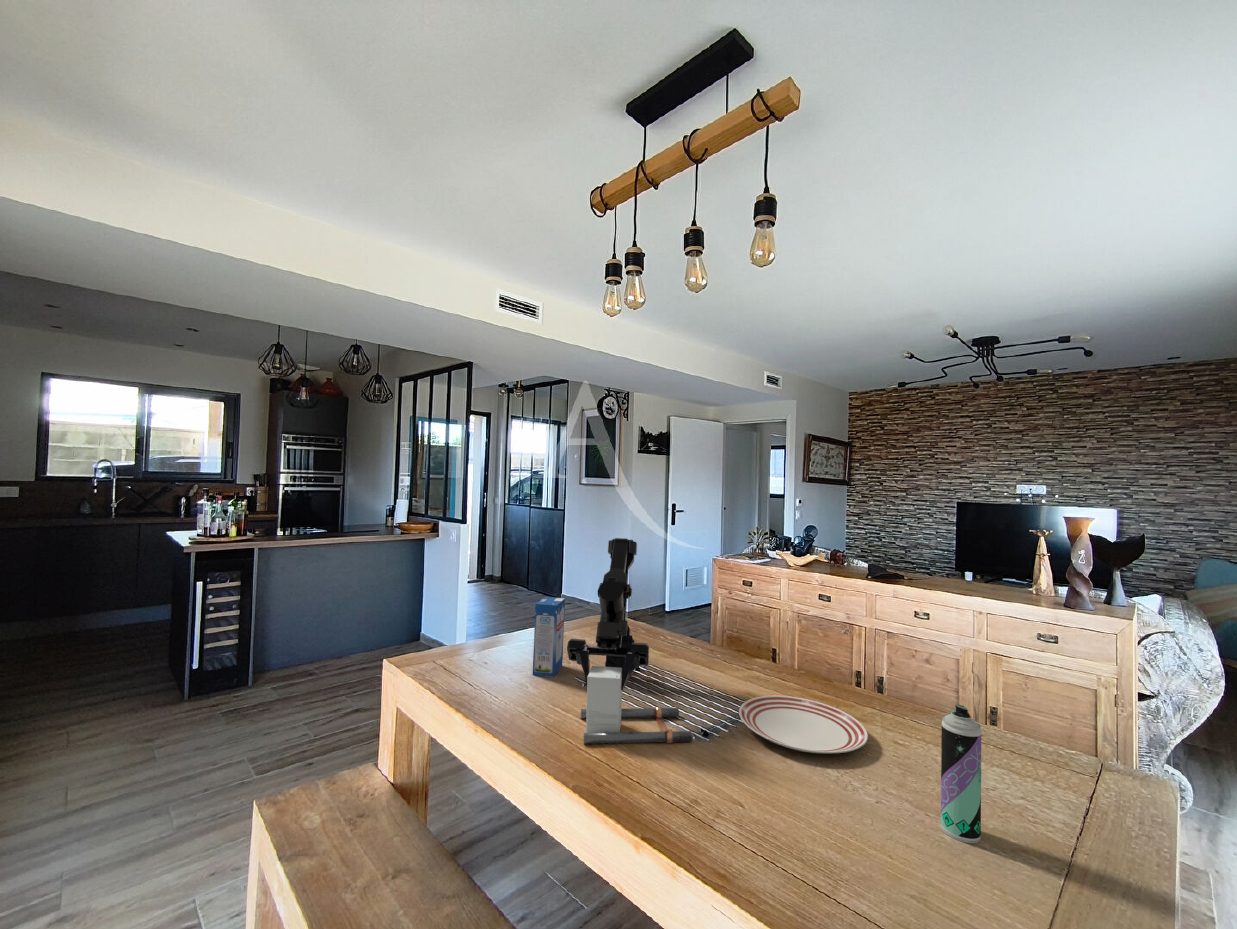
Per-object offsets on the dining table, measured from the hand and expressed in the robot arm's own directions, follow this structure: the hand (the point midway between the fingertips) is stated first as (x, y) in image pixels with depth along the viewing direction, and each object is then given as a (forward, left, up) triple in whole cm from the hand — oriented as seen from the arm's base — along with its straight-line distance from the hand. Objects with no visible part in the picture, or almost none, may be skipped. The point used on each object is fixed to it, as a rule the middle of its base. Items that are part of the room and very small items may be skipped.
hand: (604, 688), depth 116 cm
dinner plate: (-32, +31, -10) cm, 46 cm away
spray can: (-16, +64, -10) cm, 67 cm away
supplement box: (-1, -1, -10) cm, 10 cm away
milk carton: (-17, -38, -10) cm, 43 cm away
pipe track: (-6, +4, -9) cm, 12 cm away
